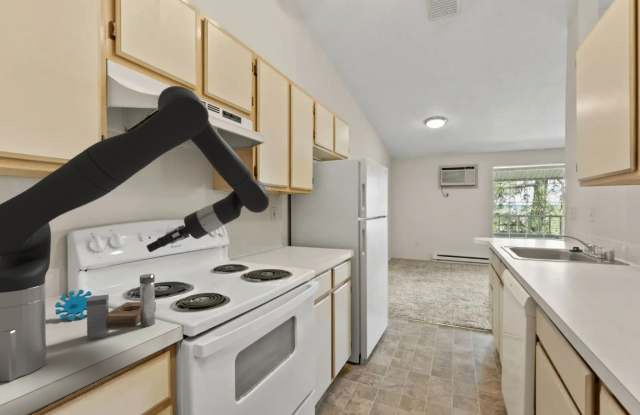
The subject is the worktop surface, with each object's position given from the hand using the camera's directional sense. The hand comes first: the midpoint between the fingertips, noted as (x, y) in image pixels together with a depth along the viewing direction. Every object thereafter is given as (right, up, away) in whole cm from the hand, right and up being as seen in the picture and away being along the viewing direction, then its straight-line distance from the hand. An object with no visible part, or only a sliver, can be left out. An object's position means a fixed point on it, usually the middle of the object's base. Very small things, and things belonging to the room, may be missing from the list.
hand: (155, 246), depth 90 cm
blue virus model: (-25, -22, +3) cm, 34 cm away
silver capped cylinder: (-1, -22, -3) cm, 22 cm away
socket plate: (-8, -22, +2) cm, 23 cm away
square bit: (-9, -22, -10) cm, 26 cm away
